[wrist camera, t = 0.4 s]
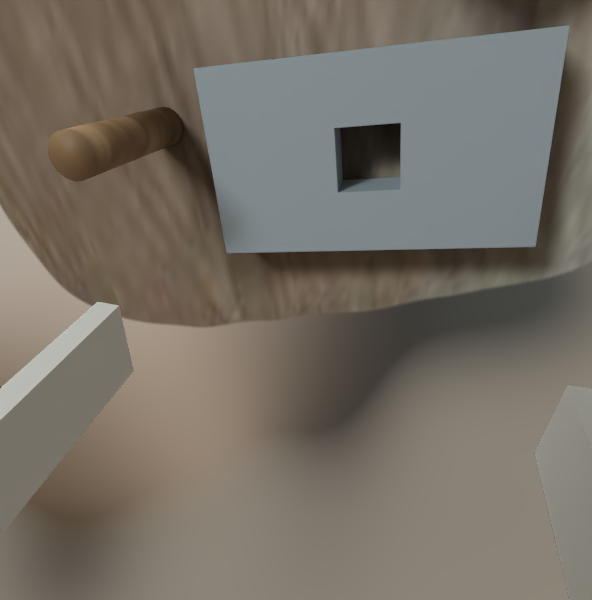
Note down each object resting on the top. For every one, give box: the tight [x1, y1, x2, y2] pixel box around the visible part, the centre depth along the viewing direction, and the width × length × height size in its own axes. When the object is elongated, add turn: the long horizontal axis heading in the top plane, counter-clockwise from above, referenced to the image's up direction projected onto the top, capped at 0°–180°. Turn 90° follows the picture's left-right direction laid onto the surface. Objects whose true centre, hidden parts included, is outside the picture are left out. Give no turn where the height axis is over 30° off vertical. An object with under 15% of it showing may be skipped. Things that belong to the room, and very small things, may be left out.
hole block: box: [193, 25, 570, 253], centre depth 34 cm, size 24×14×4 cm, turn 95°
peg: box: [48, 107, 183, 181], centre depth 33 cm, size 3×3×13 cm
